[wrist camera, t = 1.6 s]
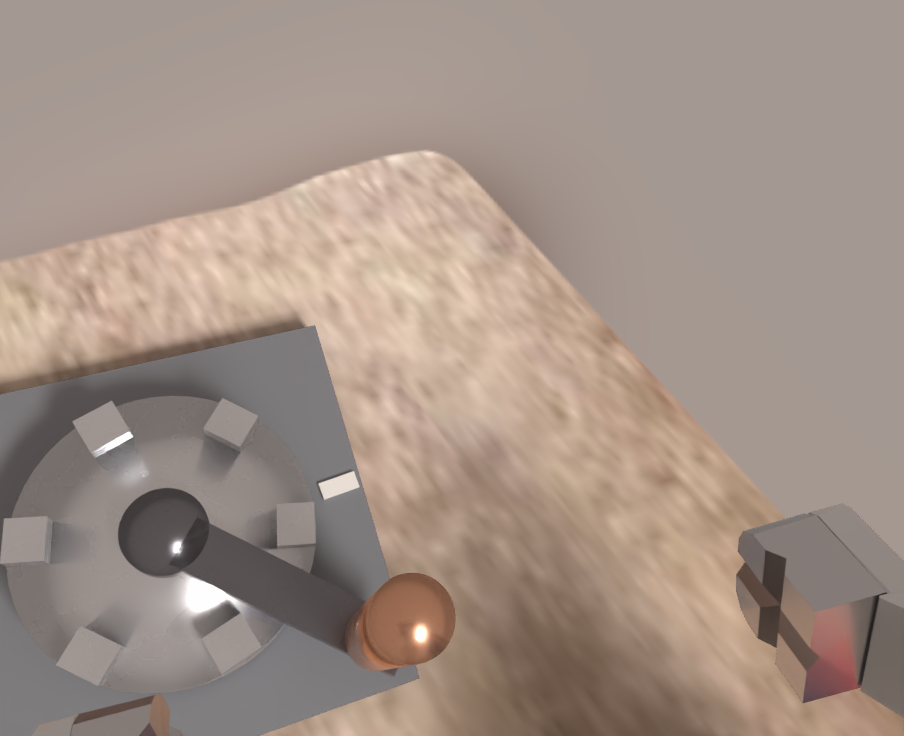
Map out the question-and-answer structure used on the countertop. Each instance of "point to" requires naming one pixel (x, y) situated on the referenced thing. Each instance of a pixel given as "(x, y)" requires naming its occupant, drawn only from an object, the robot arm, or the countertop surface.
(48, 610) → the crank turntable
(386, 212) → the countertop surface
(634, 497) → the countertop surface
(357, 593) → the base plate
